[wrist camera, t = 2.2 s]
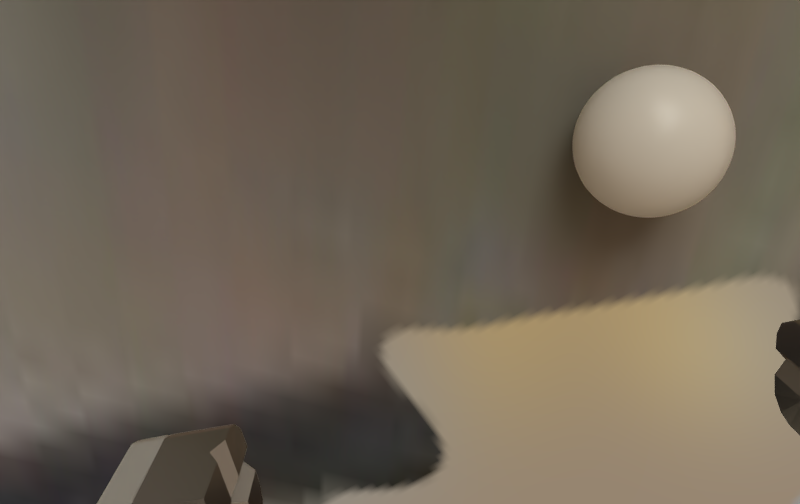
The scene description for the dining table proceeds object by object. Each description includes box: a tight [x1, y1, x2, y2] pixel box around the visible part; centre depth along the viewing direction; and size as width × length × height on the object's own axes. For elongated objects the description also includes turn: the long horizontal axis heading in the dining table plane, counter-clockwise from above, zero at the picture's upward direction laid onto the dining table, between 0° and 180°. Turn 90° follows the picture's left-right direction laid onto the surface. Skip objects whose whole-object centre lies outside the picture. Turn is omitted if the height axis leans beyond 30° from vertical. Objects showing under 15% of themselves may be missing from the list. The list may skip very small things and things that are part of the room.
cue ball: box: [572, 65, 736, 218], centre depth 22 cm, size 6×6×6 cm
